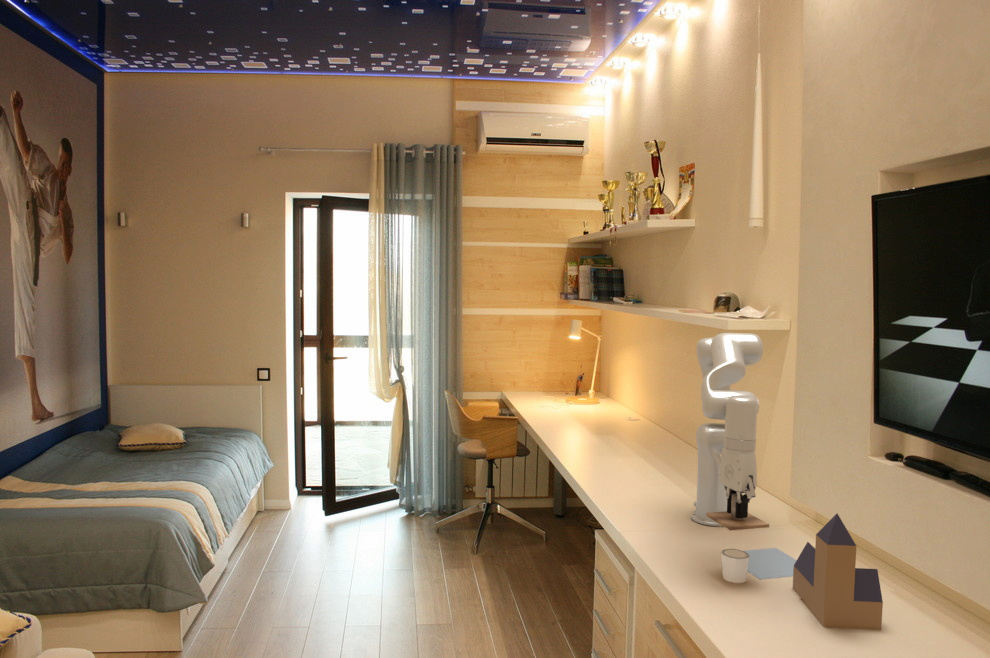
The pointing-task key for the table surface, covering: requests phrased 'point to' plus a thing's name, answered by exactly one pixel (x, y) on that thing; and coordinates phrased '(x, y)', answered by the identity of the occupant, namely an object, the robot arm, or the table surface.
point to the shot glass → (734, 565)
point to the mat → (770, 563)
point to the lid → (736, 519)
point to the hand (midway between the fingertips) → (737, 514)
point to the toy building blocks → (837, 581)
